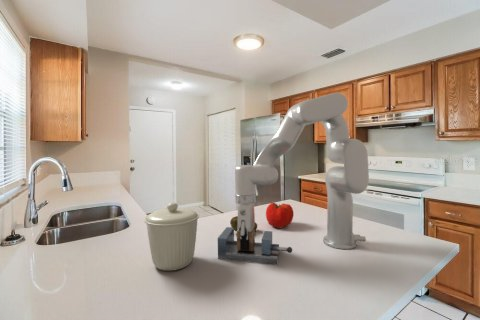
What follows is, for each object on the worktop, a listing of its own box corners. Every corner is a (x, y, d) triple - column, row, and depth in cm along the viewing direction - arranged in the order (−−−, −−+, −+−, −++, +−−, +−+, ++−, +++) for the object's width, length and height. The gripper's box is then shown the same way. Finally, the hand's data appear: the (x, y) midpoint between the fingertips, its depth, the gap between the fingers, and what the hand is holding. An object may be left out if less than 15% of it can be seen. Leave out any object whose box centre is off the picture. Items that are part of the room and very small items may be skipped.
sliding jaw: (292, 247, 87) (292, 232, 87) (292, 258, 79) (292, 242, 78) (264, 245, 90) (264, 230, 89) (261, 255, 81) (261, 239, 81)
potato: (259, 235, 105) (258, 218, 104) (230, 236, 104) (230, 219, 103) (256, 229, 113) (256, 213, 113) (230, 230, 112) (229, 213, 112)
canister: (139, 261, 82) (137, 202, 81) (187, 247, 93) (185, 195, 92) (155, 284, 67) (153, 213, 66) (209, 265, 78) (208, 203, 77)
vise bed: (279, 249, 90) (279, 230, 90) (277, 264, 78) (277, 242, 78) (227, 245, 94) (226, 227, 94) (217, 258, 83) (217, 238, 82)
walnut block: (254, 246, 88) (254, 228, 88) (253, 251, 84) (252, 232, 84) (239, 245, 89) (239, 227, 89) (236, 249, 85) (236, 231, 85)
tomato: (263, 229, 114) (263, 205, 113) (270, 220, 127) (270, 199, 126) (290, 232, 108) (290, 207, 108) (295, 223, 121) (295, 201, 121)
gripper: (251, 204, 77) (252, 258, 78) (258, 194, 93) (259, 239, 94) (229, 203, 78) (230, 256, 79) (240, 194, 95) (241, 238, 96)
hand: (246, 246), depth 87 cm, fingers closed on walnut block, 4 cm apart
